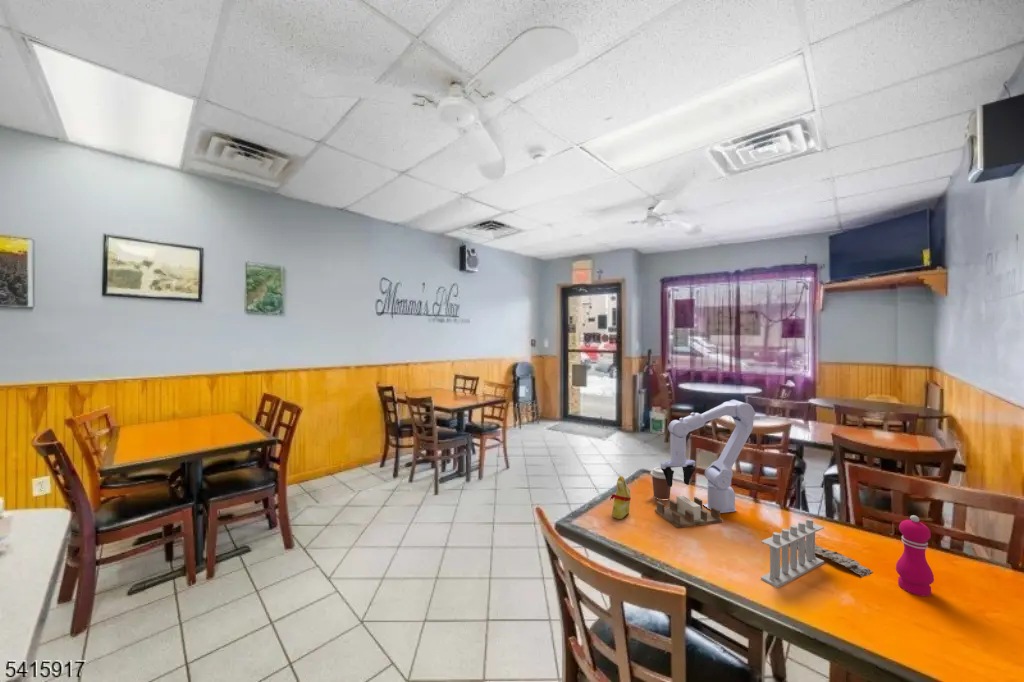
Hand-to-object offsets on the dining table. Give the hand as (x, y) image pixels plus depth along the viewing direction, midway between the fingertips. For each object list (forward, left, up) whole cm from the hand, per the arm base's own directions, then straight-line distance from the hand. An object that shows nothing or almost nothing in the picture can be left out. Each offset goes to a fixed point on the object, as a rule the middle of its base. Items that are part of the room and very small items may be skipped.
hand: (678, 485), depth 157 cm
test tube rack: (-6, +45, -10) cm, 46 cm away
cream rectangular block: (+1, +7, -8) cm, 11 cm away
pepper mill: (-30, +59, -10) cm, 67 cm away
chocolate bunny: (+25, -1, -10) cm, 27 cm away
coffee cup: (0, -11, -10) cm, 15 cm away
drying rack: (+1, +7, -9) cm, 12 cm away
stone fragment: (-22, +39, -10) cm, 46 cm away
